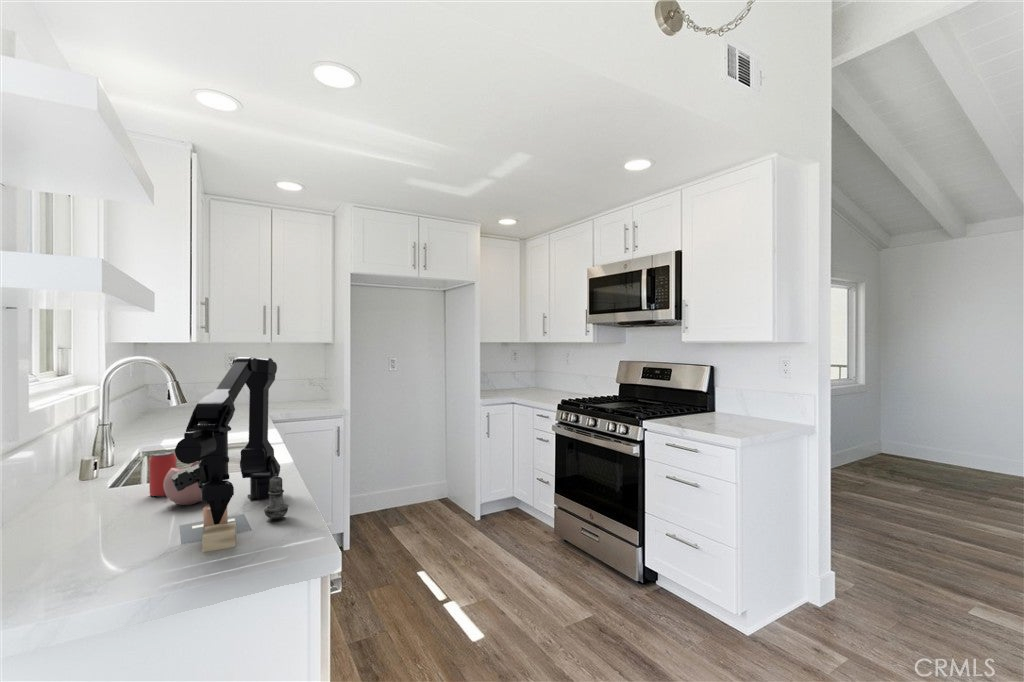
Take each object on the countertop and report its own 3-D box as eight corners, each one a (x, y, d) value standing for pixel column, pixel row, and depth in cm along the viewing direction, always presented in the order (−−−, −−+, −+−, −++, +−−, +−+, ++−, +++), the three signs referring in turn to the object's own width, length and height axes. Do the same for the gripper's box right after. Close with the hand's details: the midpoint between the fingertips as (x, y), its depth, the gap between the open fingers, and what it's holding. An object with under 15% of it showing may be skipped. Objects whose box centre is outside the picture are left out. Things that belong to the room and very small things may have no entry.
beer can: (171, 489, 154) (170, 449, 154) (180, 493, 150) (180, 452, 150) (145, 494, 149) (145, 453, 149) (155, 498, 145) (154, 456, 145)
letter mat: (179, 527, 123) (179, 525, 123) (244, 515, 131) (244, 513, 131) (181, 546, 112) (181, 544, 112) (252, 532, 120) (252, 530, 120)
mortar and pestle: (222, 502, 141) (221, 461, 141) (172, 514, 132) (171, 470, 132) (205, 494, 149) (205, 455, 149) (157, 504, 140) (157, 463, 140)
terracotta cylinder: (203, 526, 122) (202, 505, 122) (226, 522, 125) (226, 501, 125) (204, 533, 118) (203, 511, 118) (228, 528, 121) (228, 507, 121)
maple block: (205, 544, 113) (204, 526, 113) (235, 539, 116) (235, 522, 116) (202, 555, 108) (202, 536, 108) (235, 549, 111) (234, 531, 111)
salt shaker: (279, 526, 123) (278, 477, 123) (257, 524, 124) (257, 475, 124) (294, 518, 129) (293, 470, 129) (273, 516, 130) (273, 469, 130)
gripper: (172, 450, 124) (173, 514, 125) (174, 466, 109) (175, 539, 109) (224, 444, 131) (225, 505, 131) (233, 459, 115) (234, 528, 116)
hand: (215, 518), depth 122 cm, fingers open, 8 cm apart
